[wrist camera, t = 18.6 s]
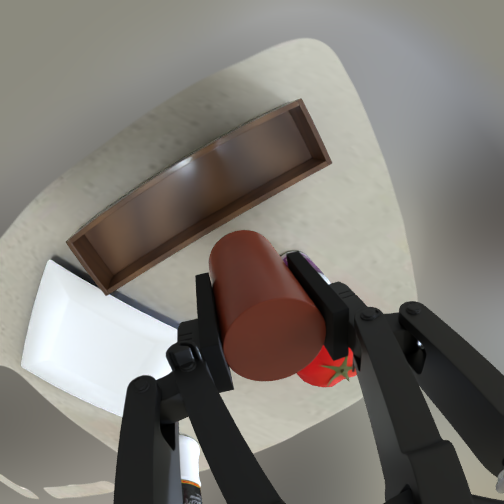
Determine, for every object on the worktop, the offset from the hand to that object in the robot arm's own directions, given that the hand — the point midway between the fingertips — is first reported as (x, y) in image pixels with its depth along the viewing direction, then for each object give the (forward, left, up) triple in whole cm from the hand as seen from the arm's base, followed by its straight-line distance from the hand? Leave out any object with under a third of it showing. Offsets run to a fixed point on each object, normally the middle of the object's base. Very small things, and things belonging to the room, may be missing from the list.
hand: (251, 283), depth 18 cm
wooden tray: (-1, -4, -19) cm, 19 cm away
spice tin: (0, 0, -3) cm, 3 cm away
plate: (+25, -11, -19) cm, 33 cm away
